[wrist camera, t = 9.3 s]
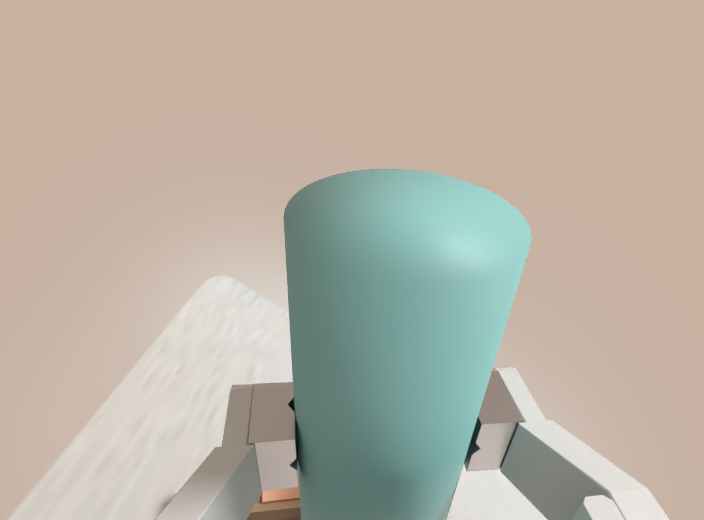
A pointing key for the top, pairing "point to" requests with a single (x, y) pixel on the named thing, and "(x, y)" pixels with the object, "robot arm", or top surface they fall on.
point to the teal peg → (394, 335)
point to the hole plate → (277, 505)
